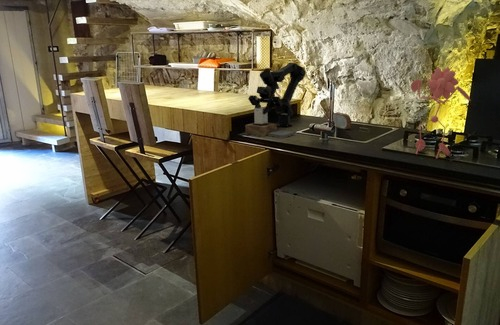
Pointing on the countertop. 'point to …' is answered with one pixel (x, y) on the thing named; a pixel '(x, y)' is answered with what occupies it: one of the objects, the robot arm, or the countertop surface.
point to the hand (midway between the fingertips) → (259, 113)
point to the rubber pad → (281, 133)
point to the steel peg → (260, 115)
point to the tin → (342, 120)
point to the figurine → (439, 86)
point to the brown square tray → (260, 128)
